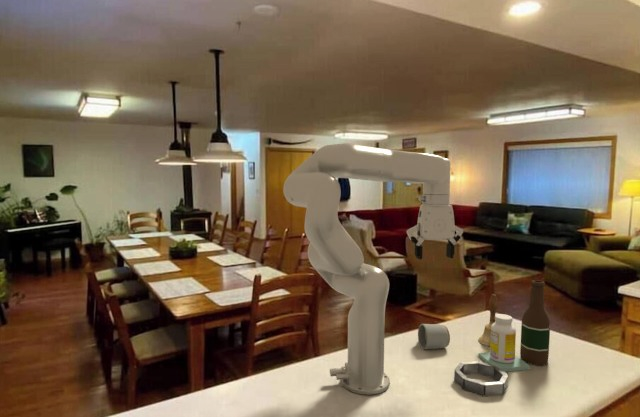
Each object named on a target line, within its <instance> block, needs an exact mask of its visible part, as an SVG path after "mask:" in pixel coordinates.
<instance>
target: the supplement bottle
mask: <svg viewBox="0 0 640 417" xmlns="http://www.w3.org/2000/svg"><path fill="white" fill-rule="evenodd" d="M512 323H513V317H512V316H511V315H509V314H504V313H498V314H497V313H496V314H495V323H493V324H492V325H491V341H490V346H489V347H490V348H489V349H490V350H489V352H490V356H491V358H492V359H493V360H494V361H497V362H500V363H512V362H514V360H515V356H516V339H517V338H516V334H517V330H516V327H515V326H514V325H513V324H512Z"/></svg>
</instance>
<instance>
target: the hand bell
mask: <svg viewBox="0 0 640 417" xmlns="http://www.w3.org/2000/svg"><path fill="white" fill-rule="evenodd" d="M498 304H499V303H498V299H497V295H496V294H495V293H492V294H491V296H490V299H489V302H488V308H489V312H490V314H489V322H488V323H487V324H485V325H484V329H483V333H482V335H481V336H479V338H478V342H479V343H480V344H481V345H484V346H487V347H490V341H491V325H492V324H493V323H495V322H496V321H495V315H496V314H497V310H498V307H499V305H498Z"/></svg>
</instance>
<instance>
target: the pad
mask: <svg viewBox="0 0 640 417" xmlns="http://www.w3.org/2000/svg"><path fill="white" fill-rule="evenodd" d="M477 357H479V358H480V359H481V360H482V362H484V363H486V364H490V365H494V366H496V367H498V368H500V369H501V370H502V371H503V372H514V371H516V372H517V371H528V370H530V369H531V365H530V364H528V363H526V362H525V361H523V360H522V359H521V358H519V357H518V356H517V355H515V360H514V362H512V363H500V362H497V361H494V360H493V359H492V358H491V356H490V351H489V352H478V353H477Z"/></svg>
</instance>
